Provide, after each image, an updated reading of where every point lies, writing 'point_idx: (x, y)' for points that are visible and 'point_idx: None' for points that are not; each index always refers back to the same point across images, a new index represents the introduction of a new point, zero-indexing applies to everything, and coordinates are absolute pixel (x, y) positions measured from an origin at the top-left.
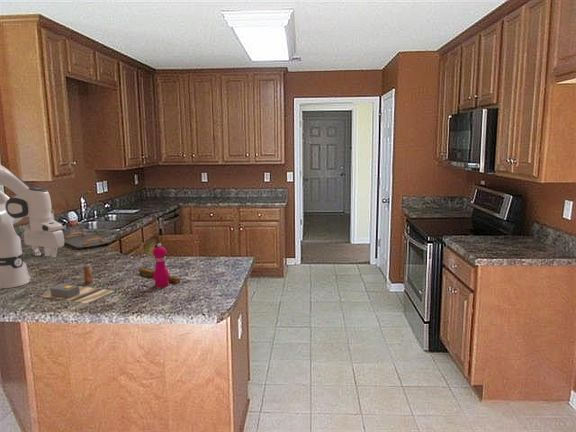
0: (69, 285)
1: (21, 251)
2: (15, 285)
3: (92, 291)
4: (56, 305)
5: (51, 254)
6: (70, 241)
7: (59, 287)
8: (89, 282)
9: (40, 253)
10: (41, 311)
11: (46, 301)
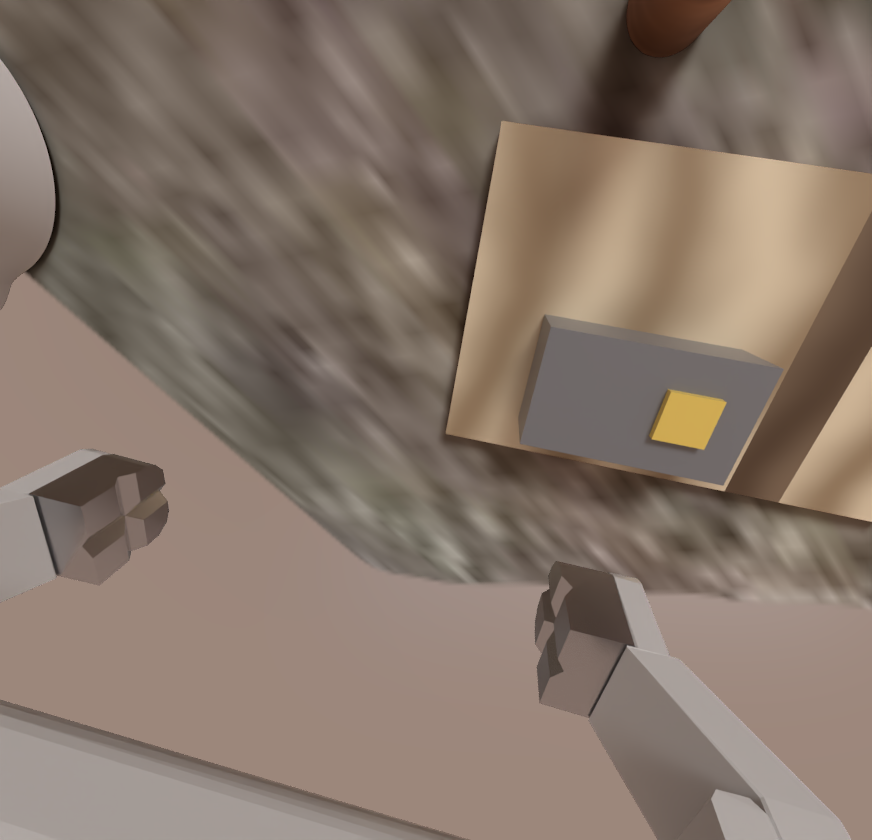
0: (663, 361)
1: None
2: (41, 224)
3: (851, 271)
4: (639, 513)
5: (582, 693)
6: None
7: (596, 423)
8: (714, 17)
9: (127, 476)
10: None
11: (521, 458)
